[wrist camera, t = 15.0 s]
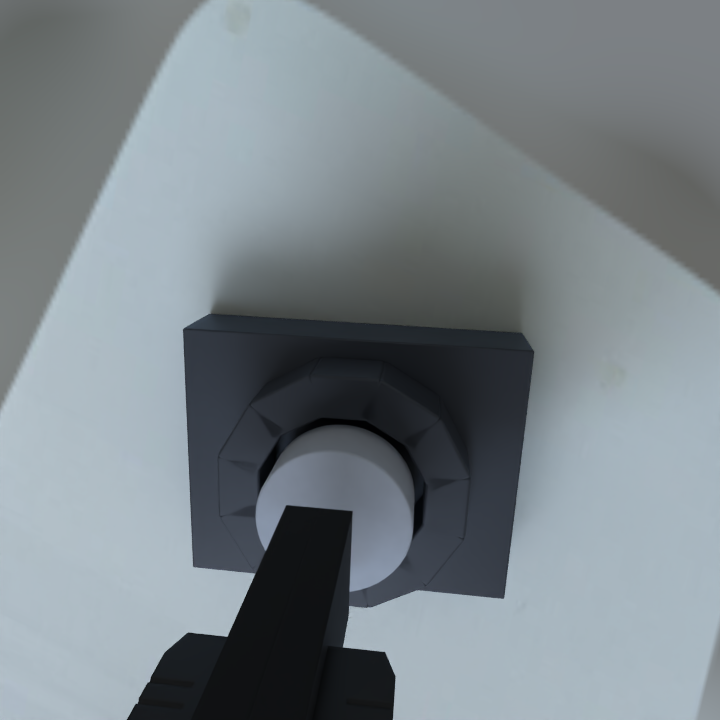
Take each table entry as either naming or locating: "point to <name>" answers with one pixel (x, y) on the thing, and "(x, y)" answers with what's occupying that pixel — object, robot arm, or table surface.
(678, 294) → the table surface
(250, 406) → the button housing
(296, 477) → the flush button
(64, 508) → the table surface
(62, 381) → the table surface
